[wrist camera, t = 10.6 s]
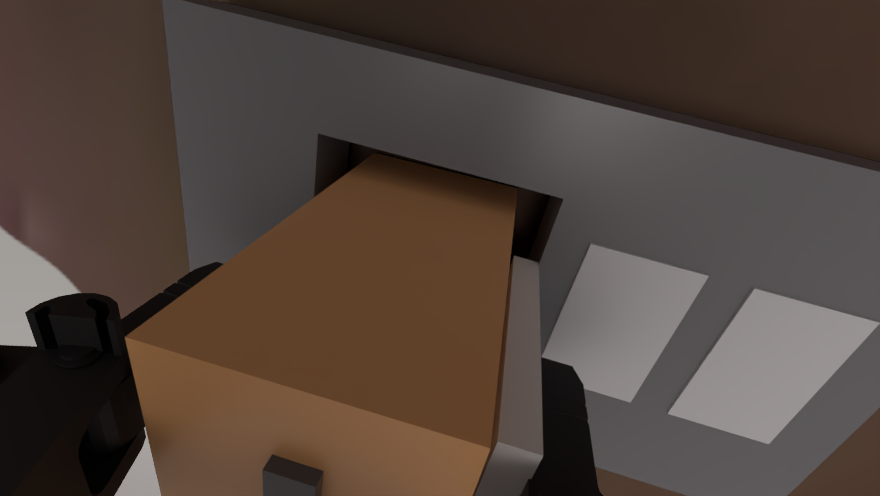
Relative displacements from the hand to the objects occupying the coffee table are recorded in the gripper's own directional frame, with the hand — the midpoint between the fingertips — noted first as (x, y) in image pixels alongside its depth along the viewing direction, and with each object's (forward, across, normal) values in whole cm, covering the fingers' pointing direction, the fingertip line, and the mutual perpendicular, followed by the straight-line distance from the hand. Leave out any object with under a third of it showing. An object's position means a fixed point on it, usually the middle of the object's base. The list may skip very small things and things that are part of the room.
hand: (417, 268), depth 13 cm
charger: (+2, 0, 0) cm, 2 cm away
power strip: (+2, +3, 0) cm, 4 cm away
